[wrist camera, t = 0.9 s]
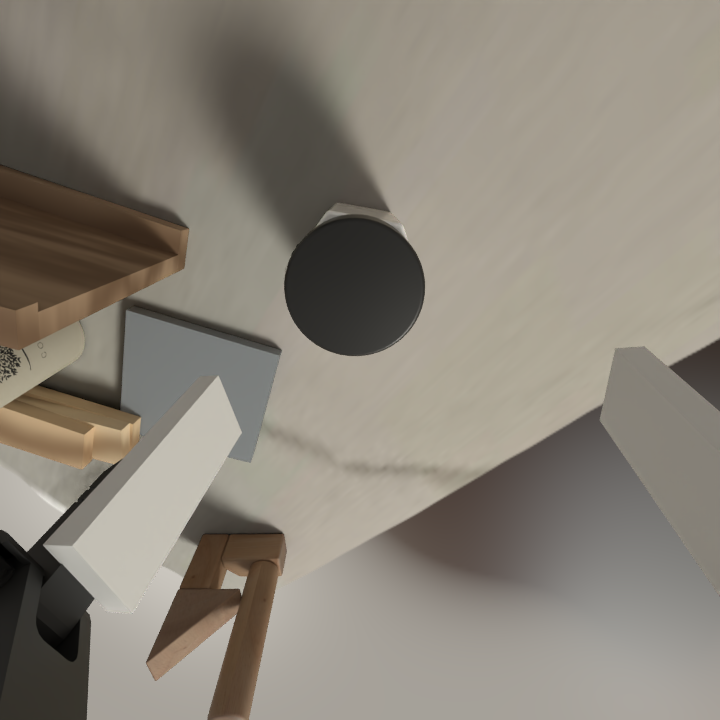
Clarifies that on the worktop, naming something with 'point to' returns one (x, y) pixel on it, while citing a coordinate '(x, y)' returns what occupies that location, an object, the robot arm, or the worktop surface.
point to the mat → (194, 371)
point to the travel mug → (38, 361)
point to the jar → (355, 281)
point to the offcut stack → (67, 428)
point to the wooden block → (224, 614)
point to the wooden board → (73, 255)
